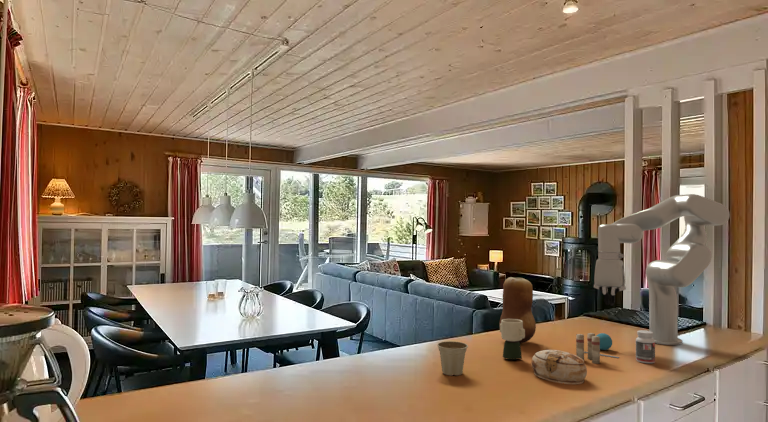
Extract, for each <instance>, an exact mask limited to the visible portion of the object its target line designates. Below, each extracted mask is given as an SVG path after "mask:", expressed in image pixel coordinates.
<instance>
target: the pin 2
mask: <svg viewBox="0 0 768 422" xmlns="http://www.w3.org/2000/svg"><path fill="white" fill-rule="evenodd" d="M600 352H601V349H600V337H598V336H596V335H595V336H592V360H591V363H592V364H595V365H597V364H598V365H599V364H600V363H601V355H600V354H601V353H600Z"/></svg>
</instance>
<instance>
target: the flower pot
mask: <svg viewBox="0 0 768 422" xmlns="http://www.w3.org/2000/svg"><path fill="white" fill-rule="evenodd" d="M436 345H437V347H438V351H439V357H440V363H441V372H442V374H443V375H447V376H449V377H450V376H453V375H454V376H461V375H462V374H463V373H464V364H465V356H466V352H467V349H468V348H469V345H468V344H467V343H465V342H462V341H455V340H454V341H452V340H451V341H450V340H448V341H440V342H438V343H437V344H436Z"/></svg>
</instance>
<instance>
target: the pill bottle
mask: <svg viewBox="0 0 768 422" xmlns="http://www.w3.org/2000/svg"><path fill="white" fill-rule="evenodd" d="M636 332H637V333H636V334H637V337H636V338H635V360H636V361H637V362H638V363H643V364H655V363H656V345H655V344H656V343H655V340H654V339H653V338H652V337H653V332H651V331H650V330H646V329H645V330H644V329H643V330H641V329H639V330H637V331H636Z"/></svg>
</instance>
